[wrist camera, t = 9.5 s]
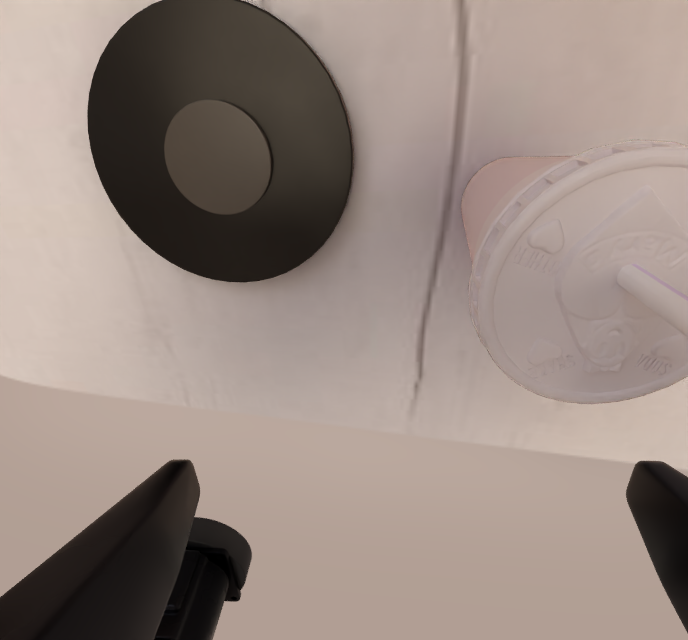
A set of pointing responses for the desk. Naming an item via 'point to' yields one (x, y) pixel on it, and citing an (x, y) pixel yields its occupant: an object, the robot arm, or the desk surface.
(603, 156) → the smoothie
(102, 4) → the desk surface
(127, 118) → the black coaster
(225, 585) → the robot arm
